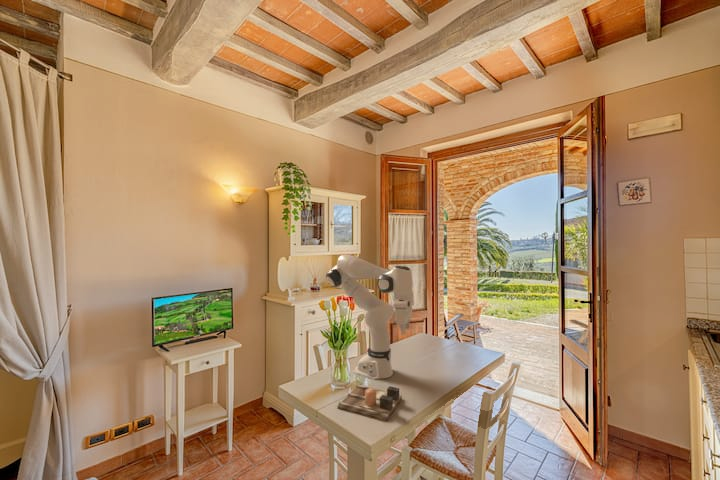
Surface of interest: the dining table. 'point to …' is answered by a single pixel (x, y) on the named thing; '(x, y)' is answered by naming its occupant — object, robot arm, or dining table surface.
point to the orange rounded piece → (370, 397)
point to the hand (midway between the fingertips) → (405, 331)
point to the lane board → (355, 401)
